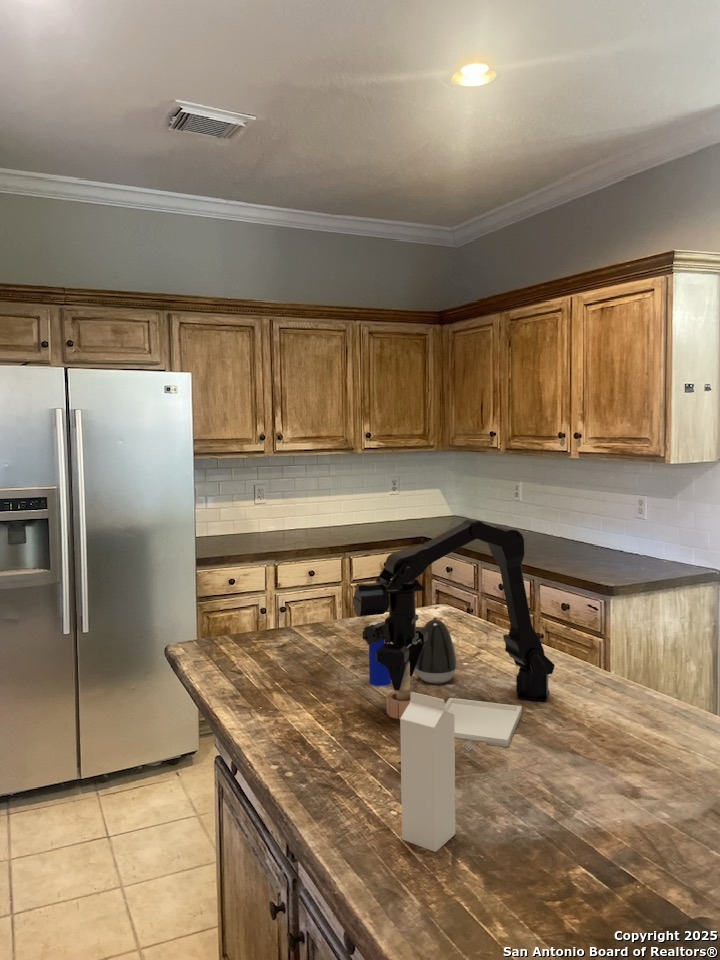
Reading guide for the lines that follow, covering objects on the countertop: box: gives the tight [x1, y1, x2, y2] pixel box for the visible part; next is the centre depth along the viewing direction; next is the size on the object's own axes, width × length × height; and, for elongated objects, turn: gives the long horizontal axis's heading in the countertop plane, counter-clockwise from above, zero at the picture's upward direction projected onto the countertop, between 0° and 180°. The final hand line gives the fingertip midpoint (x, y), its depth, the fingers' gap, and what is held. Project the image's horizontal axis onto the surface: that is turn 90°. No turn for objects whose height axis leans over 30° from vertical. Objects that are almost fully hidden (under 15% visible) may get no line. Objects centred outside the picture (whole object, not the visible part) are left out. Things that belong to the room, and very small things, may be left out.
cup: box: [386, 690, 416, 720], centre depth 159 cm, size 7×7×4 cm
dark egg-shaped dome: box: [415, 617, 458, 685], centre depth 179 cm, size 10×10×15 cm
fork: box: [397, 739, 477, 764], centre depth 139 cm, size 3×16×2 cm, turn 111°
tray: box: [445, 697, 523, 748], centre depth 153 cm, size 16×18×2 cm
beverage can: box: [368, 621, 392, 687], centre depth 177 cm, size 5×5×15 cm
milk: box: [399, 691, 456, 853], centre depth 111 cm, size 6×6×22 cm
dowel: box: [395, 662, 411, 701], centre depth 158 cm, size 3×3×11 cm
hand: (403, 682), depth 158 cm, fingers open, 9 cm apart
